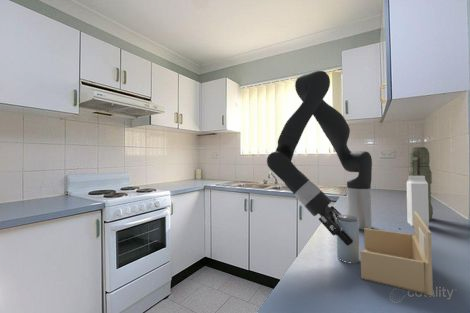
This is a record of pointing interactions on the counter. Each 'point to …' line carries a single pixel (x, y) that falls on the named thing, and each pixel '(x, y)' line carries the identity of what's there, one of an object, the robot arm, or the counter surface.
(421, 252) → the mailer
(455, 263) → the counter surface
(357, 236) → the canister
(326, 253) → the counter surface
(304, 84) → the robot arm
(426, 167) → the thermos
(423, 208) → the milk
